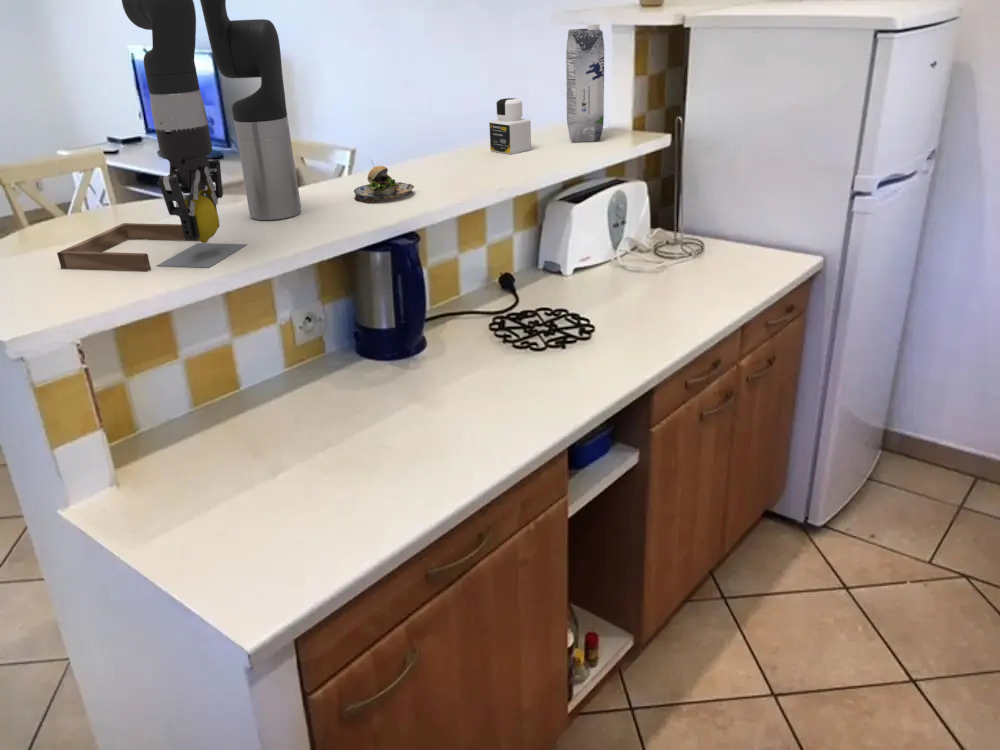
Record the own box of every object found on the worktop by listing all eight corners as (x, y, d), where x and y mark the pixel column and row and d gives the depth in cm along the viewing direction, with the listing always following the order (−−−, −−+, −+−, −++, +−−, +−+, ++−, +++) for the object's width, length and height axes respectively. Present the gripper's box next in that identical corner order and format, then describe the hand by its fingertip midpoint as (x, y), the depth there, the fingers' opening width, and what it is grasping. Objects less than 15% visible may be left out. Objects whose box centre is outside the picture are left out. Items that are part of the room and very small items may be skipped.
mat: (197, 243, 141) (197, 243, 141) (246, 244, 139) (246, 244, 139) (156, 266, 130) (156, 265, 130) (209, 267, 128) (209, 267, 128)
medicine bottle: (490, 151, 204) (487, 99, 199) (511, 146, 208) (509, 96, 203) (510, 154, 199) (508, 101, 194) (531, 150, 203) (530, 98, 198)
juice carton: (567, 143, 209) (567, 25, 197) (566, 136, 218) (565, 23, 207) (604, 142, 208) (605, 24, 197) (601, 135, 218) (602, 21, 206)
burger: (370, 208, 159) (366, 168, 156) (344, 197, 168) (339, 159, 165) (426, 197, 165) (423, 159, 162) (397, 187, 174) (394, 150, 171)
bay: (126, 237, 146) (123, 223, 145) (205, 239, 143) (202, 224, 142) (61, 268, 131) (56, 252, 130) (147, 271, 128) (143, 255, 127)
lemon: (228, 237, 136) (218, 188, 132) (214, 248, 131) (204, 196, 127) (195, 238, 136) (185, 188, 133) (180, 248, 132) (169, 197, 128)
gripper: (184, 116, 133) (204, 221, 140) (130, 132, 120) (155, 247, 127) (227, 115, 131) (246, 222, 139) (177, 131, 119) (200, 248, 126)
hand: (202, 233), depth 133 cm, fingers closed on lemon, 5 cm apart
